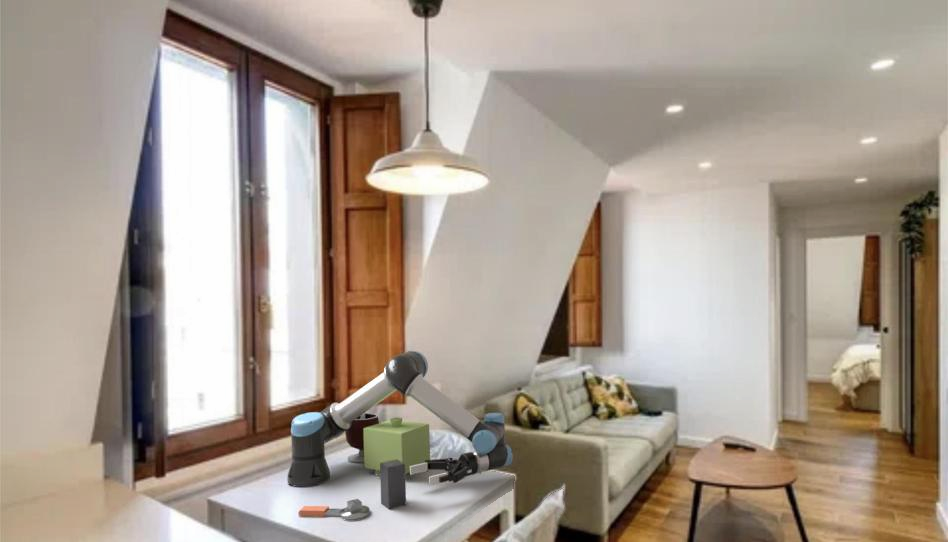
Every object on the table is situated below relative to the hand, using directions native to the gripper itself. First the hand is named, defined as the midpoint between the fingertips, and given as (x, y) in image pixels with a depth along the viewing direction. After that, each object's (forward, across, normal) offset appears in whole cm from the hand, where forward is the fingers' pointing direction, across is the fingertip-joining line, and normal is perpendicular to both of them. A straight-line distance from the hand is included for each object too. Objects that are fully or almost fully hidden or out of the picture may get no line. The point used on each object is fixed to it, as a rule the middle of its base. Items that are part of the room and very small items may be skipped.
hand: (419, 475), depth 181 cm
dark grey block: (+10, 0, -7) cm, 12 cm away
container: (-6, +29, -7) cm, 31 cm away
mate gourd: (-1, +54, -7) cm, 54 cm away
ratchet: (+28, +4, -7) cm, 29 cm away
